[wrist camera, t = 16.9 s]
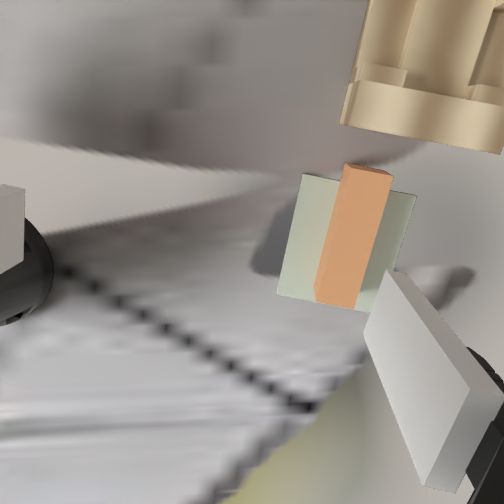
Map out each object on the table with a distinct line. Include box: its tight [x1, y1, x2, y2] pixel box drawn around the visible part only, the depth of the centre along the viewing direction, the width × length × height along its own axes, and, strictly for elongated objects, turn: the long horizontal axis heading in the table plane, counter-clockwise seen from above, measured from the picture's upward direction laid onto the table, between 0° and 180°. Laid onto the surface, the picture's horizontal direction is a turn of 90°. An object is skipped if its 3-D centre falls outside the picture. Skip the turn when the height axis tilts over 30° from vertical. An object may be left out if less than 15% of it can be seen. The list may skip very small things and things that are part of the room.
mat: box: [276, 174, 417, 313], centre depth 44 cm, size 12×14×1 cm
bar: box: [313, 163, 394, 309], centre depth 42 cm, size 4×14×4 cm, turn 170°
